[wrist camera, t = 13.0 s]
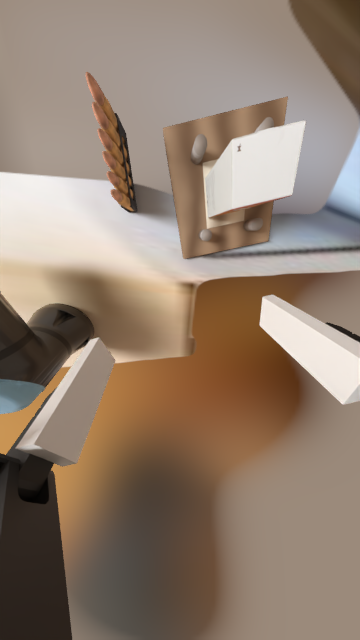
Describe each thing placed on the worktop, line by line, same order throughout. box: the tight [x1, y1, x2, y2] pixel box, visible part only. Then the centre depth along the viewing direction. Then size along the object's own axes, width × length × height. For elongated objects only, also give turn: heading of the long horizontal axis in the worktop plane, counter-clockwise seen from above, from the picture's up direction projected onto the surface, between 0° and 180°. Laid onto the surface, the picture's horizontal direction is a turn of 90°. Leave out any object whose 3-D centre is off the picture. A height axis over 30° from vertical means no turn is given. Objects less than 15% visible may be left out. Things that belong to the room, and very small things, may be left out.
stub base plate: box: [163, 97, 288, 259], centre depth 26 cm, size 20×20×6 cm
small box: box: [205, 121, 306, 218], centre depth 22 cm, size 8×6×13 cm
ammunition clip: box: [86, 72, 137, 212], centre depth 21 cm, size 11×2×12 cm, turn 1°
